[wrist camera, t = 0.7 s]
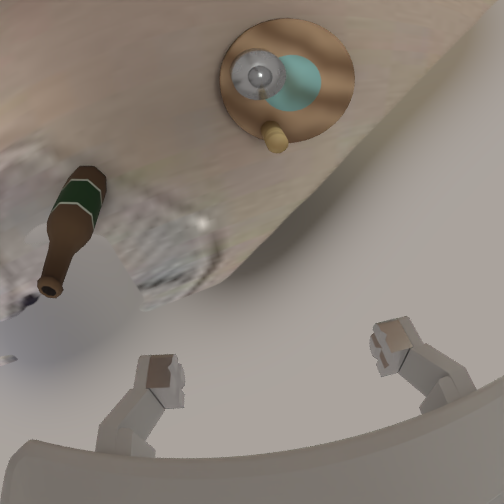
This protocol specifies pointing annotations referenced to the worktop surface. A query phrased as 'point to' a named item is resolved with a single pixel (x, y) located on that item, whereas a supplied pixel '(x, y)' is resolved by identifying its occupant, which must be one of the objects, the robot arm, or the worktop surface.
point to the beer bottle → (71, 225)
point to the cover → (257, 74)
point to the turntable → (292, 83)
